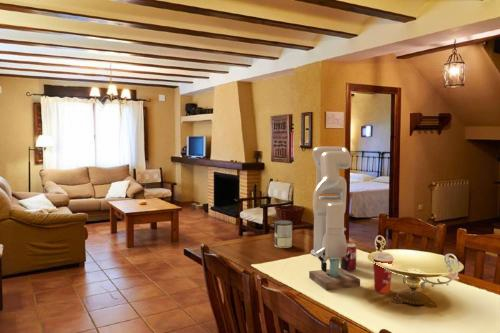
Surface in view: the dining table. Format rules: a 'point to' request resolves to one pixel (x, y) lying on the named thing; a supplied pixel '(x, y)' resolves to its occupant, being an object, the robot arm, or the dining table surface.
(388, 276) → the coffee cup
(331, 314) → the dining table surface
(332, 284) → the socket board
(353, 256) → the soda can
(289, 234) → the coffee can
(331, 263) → the peg
